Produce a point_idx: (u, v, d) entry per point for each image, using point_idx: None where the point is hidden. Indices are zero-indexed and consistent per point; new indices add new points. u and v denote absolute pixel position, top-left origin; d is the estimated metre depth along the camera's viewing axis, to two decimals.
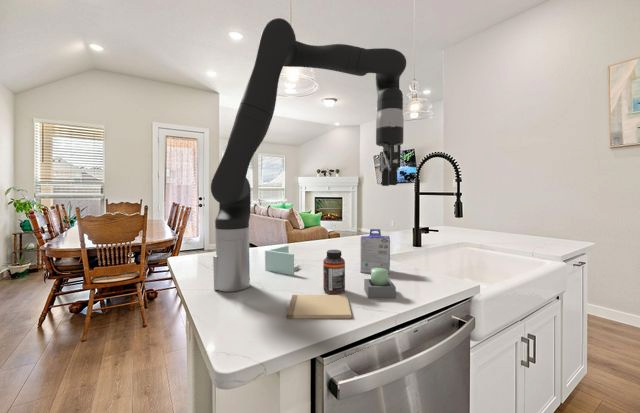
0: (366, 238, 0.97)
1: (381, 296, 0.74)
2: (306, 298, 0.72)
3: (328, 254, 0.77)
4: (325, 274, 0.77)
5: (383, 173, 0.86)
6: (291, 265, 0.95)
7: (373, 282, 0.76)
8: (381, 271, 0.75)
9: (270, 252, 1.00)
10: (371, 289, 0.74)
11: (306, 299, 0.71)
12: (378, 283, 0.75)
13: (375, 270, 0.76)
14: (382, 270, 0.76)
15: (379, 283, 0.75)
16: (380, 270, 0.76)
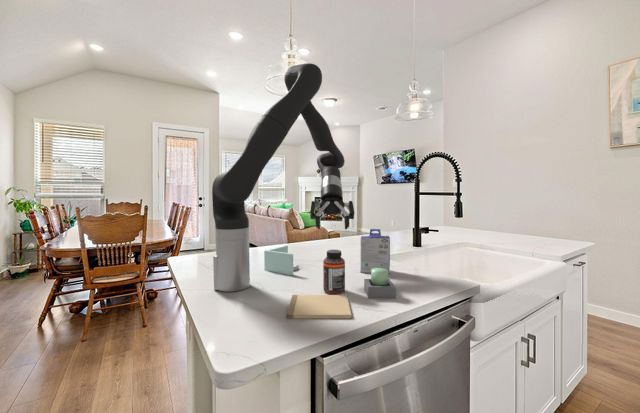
0: (366, 237, 0.97)
1: (381, 296, 0.74)
2: (306, 298, 0.72)
3: (328, 254, 0.77)
4: (325, 274, 0.77)
5: None
6: (290, 265, 0.95)
7: (373, 282, 0.76)
8: (381, 271, 0.75)
9: (269, 252, 1.00)
10: (371, 289, 0.74)
11: (306, 299, 0.71)
12: (378, 283, 0.75)
13: (375, 270, 0.76)
14: (382, 270, 0.76)
15: (379, 283, 0.75)
16: (380, 270, 0.76)
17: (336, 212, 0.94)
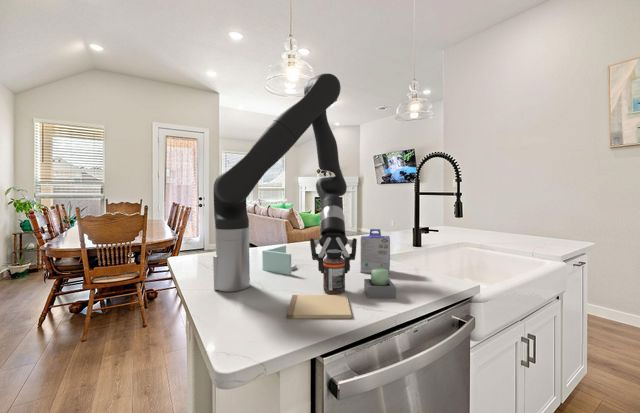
0: (366, 237, 0.97)
1: (381, 296, 0.74)
2: (306, 298, 0.72)
3: (328, 254, 0.77)
4: (325, 274, 0.77)
5: (323, 258, 0.80)
6: (288, 265, 0.95)
7: (373, 282, 0.76)
8: (381, 271, 0.75)
9: (267, 252, 1.00)
10: (371, 289, 0.74)
11: (306, 299, 0.71)
12: (378, 283, 0.75)
13: (375, 270, 0.76)
14: (382, 270, 0.76)
15: (379, 283, 0.75)
16: (380, 270, 0.76)
17: None
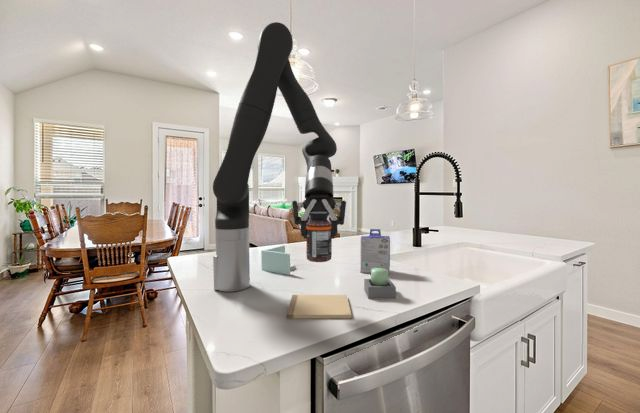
0: (366, 237, 0.97)
1: (381, 296, 0.74)
2: (306, 298, 0.72)
3: (312, 215, 0.66)
4: (308, 239, 0.66)
5: None
6: (287, 265, 0.95)
7: (373, 282, 0.76)
8: (381, 271, 0.75)
9: (266, 252, 1.00)
10: (371, 289, 0.74)
11: (306, 299, 0.71)
12: (378, 283, 0.75)
13: (375, 270, 0.76)
14: (382, 270, 0.76)
15: (379, 283, 0.75)
16: (380, 270, 0.76)
17: None
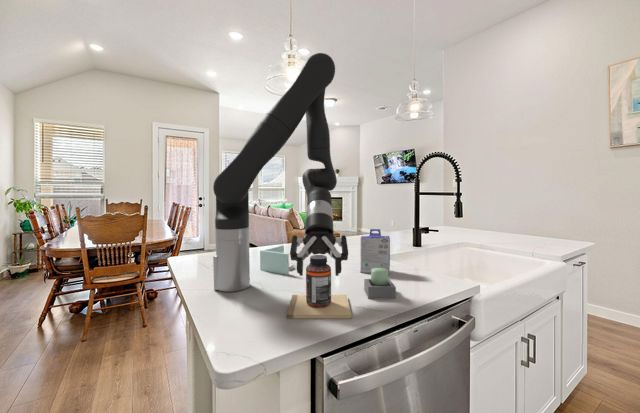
0: (366, 238, 0.97)
1: (381, 296, 0.74)
2: None
3: (311, 260, 0.67)
4: (308, 283, 0.67)
5: None
6: (286, 265, 0.96)
7: (373, 282, 0.76)
8: (381, 271, 0.75)
9: (265, 252, 1.00)
10: (371, 289, 0.74)
11: None
12: (378, 283, 0.75)
13: (375, 270, 0.76)
14: (382, 270, 0.76)
15: (379, 283, 0.75)
16: (380, 270, 0.76)
17: (324, 251, 0.71)
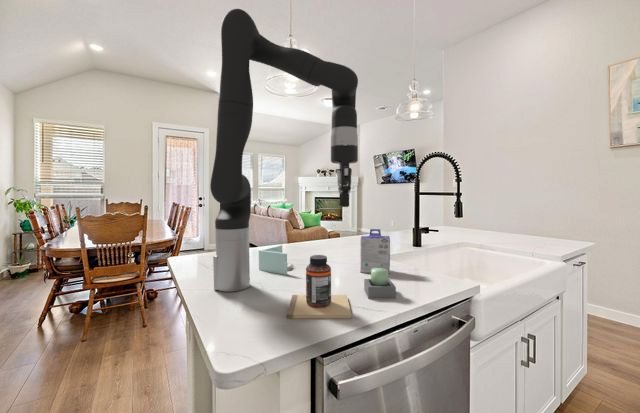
0: (366, 238, 0.97)
1: (381, 296, 0.74)
2: None
3: (311, 260, 0.67)
4: (308, 284, 0.67)
5: (341, 193, 0.84)
6: (284, 264, 0.96)
7: (373, 282, 0.76)
8: (381, 271, 0.75)
9: (263, 252, 1.00)
10: (371, 289, 0.74)
11: None
12: (378, 283, 0.75)
13: (375, 270, 0.76)
14: (382, 270, 0.76)
15: (379, 283, 0.75)
16: (380, 270, 0.76)
17: None
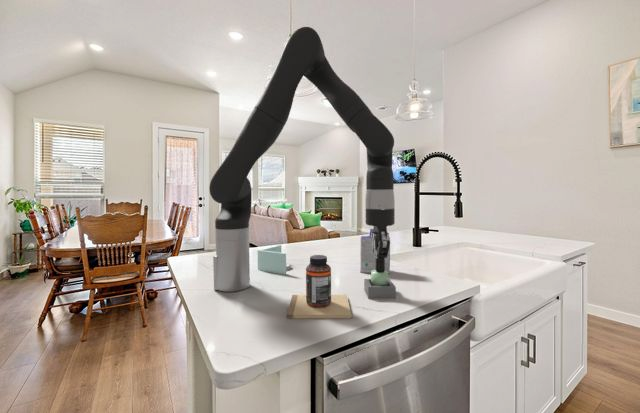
0: (366, 238, 0.97)
1: (381, 296, 0.74)
2: None
3: (311, 260, 0.67)
4: (308, 284, 0.67)
5: (377, 258, 0.77)
6: (283, 264, 0.96)
7: (373, 284, 0.76)
8: (381, 273, 0.75)
9: (262, 252, 1.00)
10: (371, 289, 0.74)
11: None
12: (378, 285, 0.75)
13: (375, 272, 0.76)
14: None
15: (379, 285, 0.75)
16: None
17: None
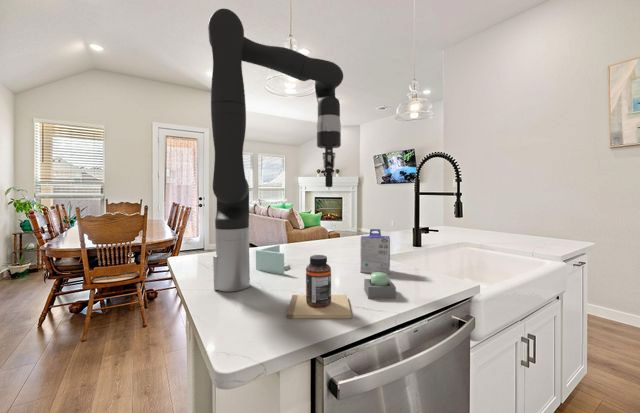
0: (366, 238, 0.97)
1: (381, 296, 0.74)
2: None
3: (311, 260, 0.67)
4: (308, 284, 0.67)
5: None
6: (281, 264, 0.96)
7: None
8: (381, 276, 0.75)
9: (261, 251, 1.01)
10: (371, 289, 0.74)
11: None
12: None
13: (375, 275, 0.76)
14: (382, 275, 0.76)
15: None
16: (380, 275, 0.76)
17: None
